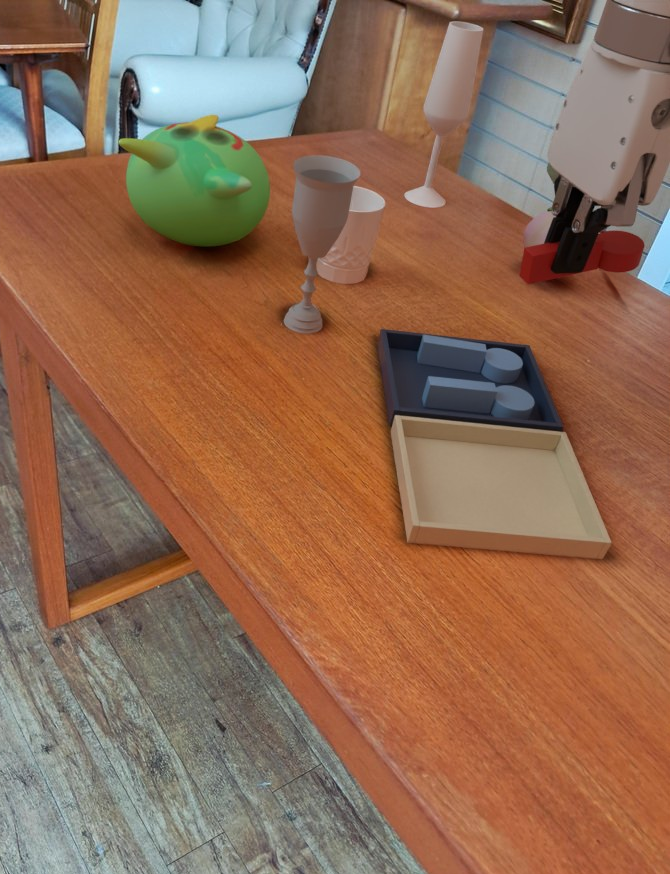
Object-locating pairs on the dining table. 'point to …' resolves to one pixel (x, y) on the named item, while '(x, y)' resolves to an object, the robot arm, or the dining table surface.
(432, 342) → the blue spoon
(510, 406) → the blue spoon
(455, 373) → the blue tray
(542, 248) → the red spoon
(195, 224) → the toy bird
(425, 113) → the champagne flute
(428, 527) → the cream tray
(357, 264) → the white cup
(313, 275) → the chalice
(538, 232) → the decorative fruit
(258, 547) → the dining table surface
